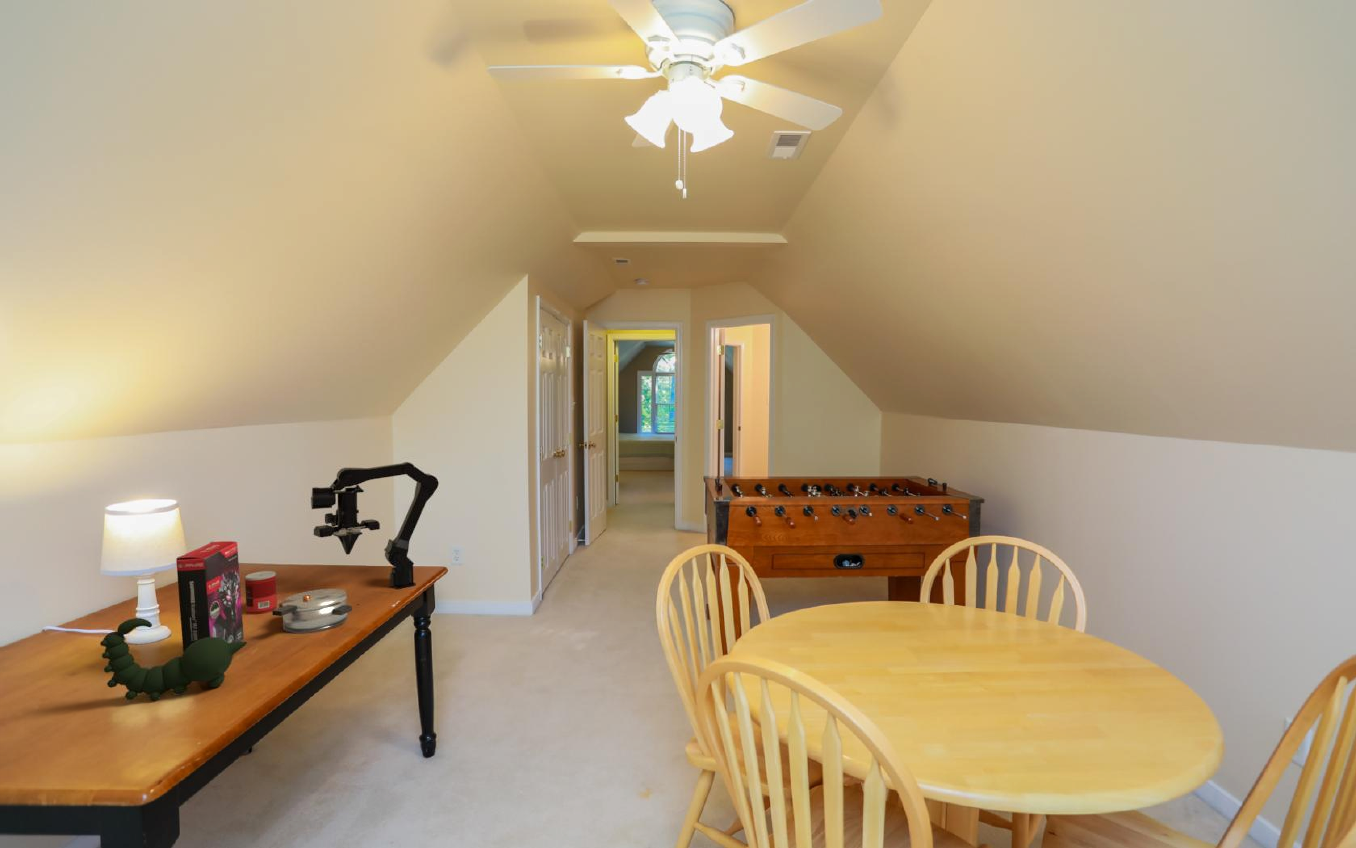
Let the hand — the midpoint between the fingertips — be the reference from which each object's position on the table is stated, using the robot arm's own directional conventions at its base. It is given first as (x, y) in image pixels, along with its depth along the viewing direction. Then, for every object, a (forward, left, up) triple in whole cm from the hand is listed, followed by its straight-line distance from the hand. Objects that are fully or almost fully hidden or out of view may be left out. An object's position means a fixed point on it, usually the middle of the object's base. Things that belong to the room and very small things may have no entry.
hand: (347, 554), depth 212 cm
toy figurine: (+52, +46, -13) cm, 70 cm away
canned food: (+24, -3, -13) cm, 28 cm away
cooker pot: (+17, +21, -13) cm, 30 cm away
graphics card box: (+42, +27, -13) cm, 51 cm away
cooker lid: (+19, +22, -7) cm, 30 cm away
